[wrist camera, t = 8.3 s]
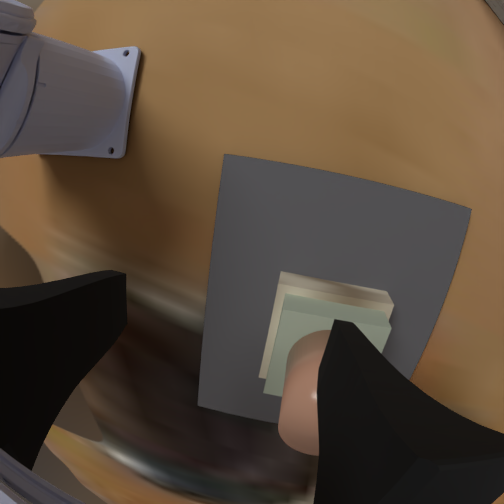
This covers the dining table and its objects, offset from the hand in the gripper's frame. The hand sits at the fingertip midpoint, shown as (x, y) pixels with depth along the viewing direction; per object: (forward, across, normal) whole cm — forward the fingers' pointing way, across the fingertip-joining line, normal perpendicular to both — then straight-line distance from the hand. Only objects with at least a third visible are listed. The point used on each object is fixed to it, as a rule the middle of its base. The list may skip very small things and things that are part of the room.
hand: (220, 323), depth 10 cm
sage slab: (+8, -5, +5) cm, 11 cm away
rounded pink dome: (+6, -5, +5) cm, 9 cm away
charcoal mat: (+10, -5, +5) cm, 13 cm away
